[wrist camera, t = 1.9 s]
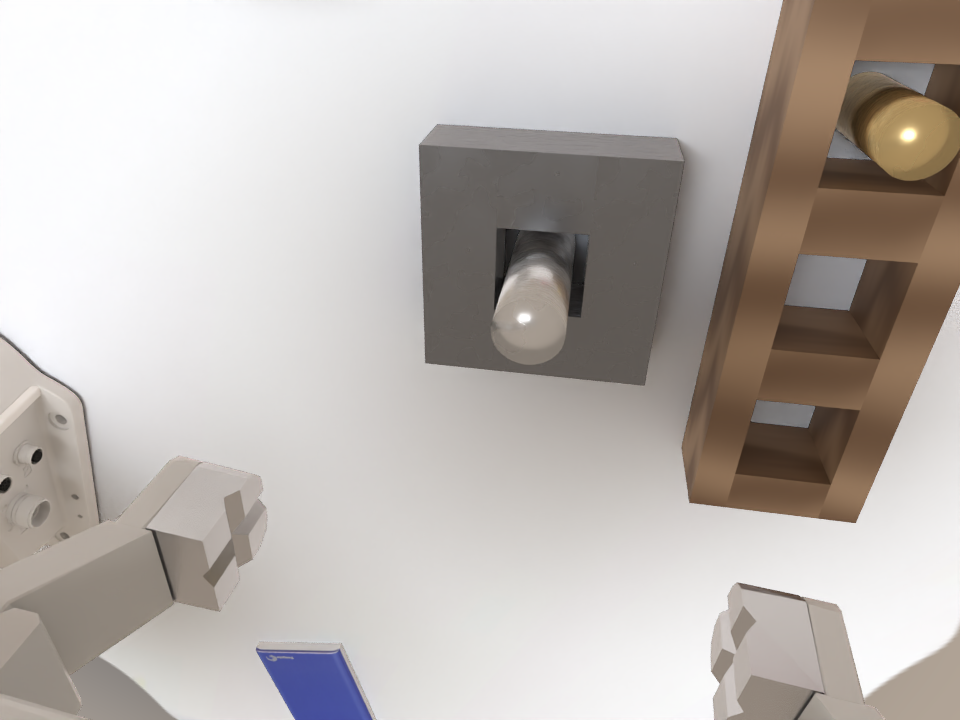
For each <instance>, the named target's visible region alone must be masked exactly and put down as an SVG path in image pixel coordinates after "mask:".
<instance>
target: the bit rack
mask: <svg viewBox="0 0 960 720" xmlns="http://www.w3.org/2000/svg"><path fill="white" fill-rule="evenodd" d="M855 60H861V61H884V62H908V63H931V64H935V67H934V69H933V72H932V75H931V78H930V81H929V84H928V87H927V90H926V92H925V95H924V96H926V97H928V98H930V99H932V100H934V101H935V102H937V103H939V104H941V105H943V106H945V107H947V108H949V109H951V110H952V111H953V112H955V113H956V114H957V116H958V117H959V118H960V0H783V4H782V8H781V12H780V17H779V21H778V26H777V30H776V34H775V39H774V43H773V48H772V52H771V56H770V61H769V65H768V70H767V74H766V78H765V83H764V87H763V92H762V96H761V100H760V105H759V109H758V114H757V118H756V122H755V127H754V131H753V136H752V140H751V144H750V149H749V153H748V158H747V162H746V166H745V171H744V175H743V179H742V184H741V188H740V193H739V197H738V201H737V206H736V210H735V215H734V219H733V223H732V228H731V232H730V237H729V241H728V245H727V250H726V254H725V259H724V263H723V267H722V272H721V276H720V281H719V285H718V289H717V294H716V298H715V303H714V307H713V311H712V316H711V320H710V325H709V329H708V333H707V338H706V342H705V347H704V351H703V355H702V360H701V364H700V368H699V373H698V377H697V382H696V386H695V390H694V395H693V399H692V404H691V408H690V412H689V417H688V421H687V426H686V430H685V434H684V439H683V443H682V454H683V461H684V468H685V475H686V482H687V489H688V496H689V503H696V504H704V505H713V506H721V507H729V508H737V509H745V510H753V511H761V512H770V513H778V514H786V515H794V516H802V517H810V518H819V519H827V520H835V521H843V522H851V523H856V521H857V519H858V516H859V514H860V512H861V509H862V507H863V505H864V503H865V500H866V498H867V496H868V493H869V491H870V489H871V487H872V484H873V482H874V480H875V477H876V475H877V473H878V471H879V468H880V466H881V464H882V461H883V459H884V457H885V455H886V452H887V450H888V448H889V445H890V443H891V441H892V439H893V436H894V434H895V432H896V429H897V427H898V425H899V422H900V420H901V418H902V416H903V413H904V411H905V409H906V406H907V404H908V402H909V400H910V397H911V395H912V393H913V390H914V388H915V386H916V384H917V381H918V379H919V377H920V374H921V372H922V370H923V368H924V365H925V363H926V361H927V358H928V356H929V354H930V352H931V349H932V347H933V345H934V342H935V340H936V338H937V336H938V333H939V331H940V329H941V326H942V324H943V322H944V320H945V317H946V315H947V313H948V310H949V308H950V306H951V304H952V301H953V299H954V297H955V294H956V292H957V290H958V288H959V285H960V149H959V151H958V152H957V154H956V156H955V157H954V158H953V160H952V161H951V162H950V163H949V164H948V165H947V166H946V167H945V168H943V169H942V170H941V171H939V172H938V173H936V174H934V175H932V176H930V177H927V178H924V179H920V180H914V181H906V180H900V179H897V178H894V177H892V176H891V175H889V174H888V173H887V172H886V171H885V170H884V169H882V168H881V167H880V166H879V165H878V164H877V163H875V162H874V161H873V160H857V159H840V158H827V155H828V151H829V148H830V144H831V141H832V138H833V134H834V131H835V127H836V124H837V120H838V117H839V113H840V110H841V106H842V103H843V100H844V96H845V93H846V89H847V86H848V82H849V79H850V75H851V72H852V68H853V65H854V62H855ZM799 254H807V255H820V256H833V257H846V258H859V259H867V261H866V264H865V267H864V270H863V273H862V276H861V279H860V281H859V284H858V287H857V290H856V293H855V296H854V299H853V302H852V304H851V307H850V310H849V311H845V310H833V309H822V308H810V307H798V306H787V305H784V303H785V300H786V296H787V293H788V290H789V286H790V283H791V279H792V276H793V272H794V269H795V265H796V262H797V258H798V255H799ZM756 400H764V401H774V402H784V403H794V404H803V405H813V406H816V408H815V410H814V413H813V416H812V419H811V422H810V425H809V428H799V427H790V426H780V425H771V424H761V423H752V422H750V421H751V417H752V414H753V410H754V407H755V403H756Z"/></svg>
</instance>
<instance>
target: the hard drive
mask: <svg viewBox="0 0 960 720" xmlns="http://www.w3.org/2000/svg"><path fill="white" fill-rule="evenodd" d="M256 651H257V653H258V655H259V657H260V659H261V660H262V662H263V664H264V666H265V667H266V669H267V671H268V673H269V674H270V676H271V678H272V680H273V681H274V683H275V685H276V687H277V688H278V690H279V692H280V694H281V696H282V697H283V699H284V701H285V703H286V704H287V706H288V708H289V710H290V712H291V713H292V715H293V717H294V719H295V720H376V718H375V716H374V714H373V712H372V709H371V707H370V705H369V703H368V700H367V698H366V696H365V694H364V692H363V689H362V687H361V685H360V683H359V681H358V678H357V676H356V674H355V672H354V670H353V668H352V665H351V663H350V661H349V659H348V657H347V654H346V652H345V650H344V648H343V646H342V643H304V642H259V643H258V645H257V648H256Z"/></svg>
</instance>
